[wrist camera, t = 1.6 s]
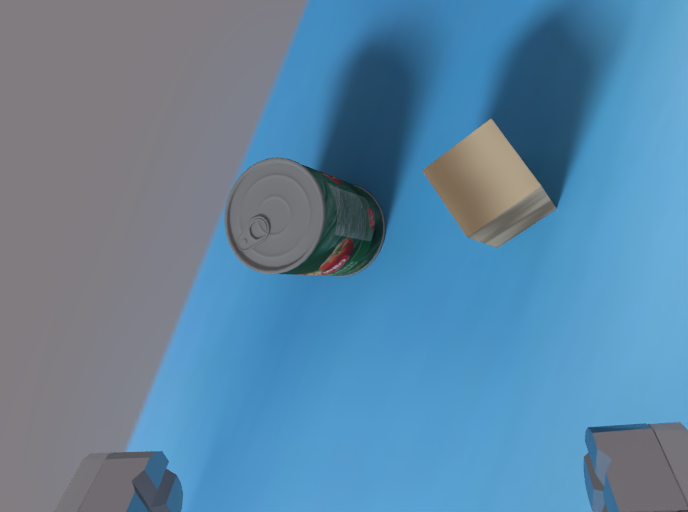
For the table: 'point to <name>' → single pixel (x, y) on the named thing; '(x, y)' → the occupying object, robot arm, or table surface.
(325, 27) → the table surface
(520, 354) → the table surface
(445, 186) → the oak block
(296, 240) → the canned tomato
